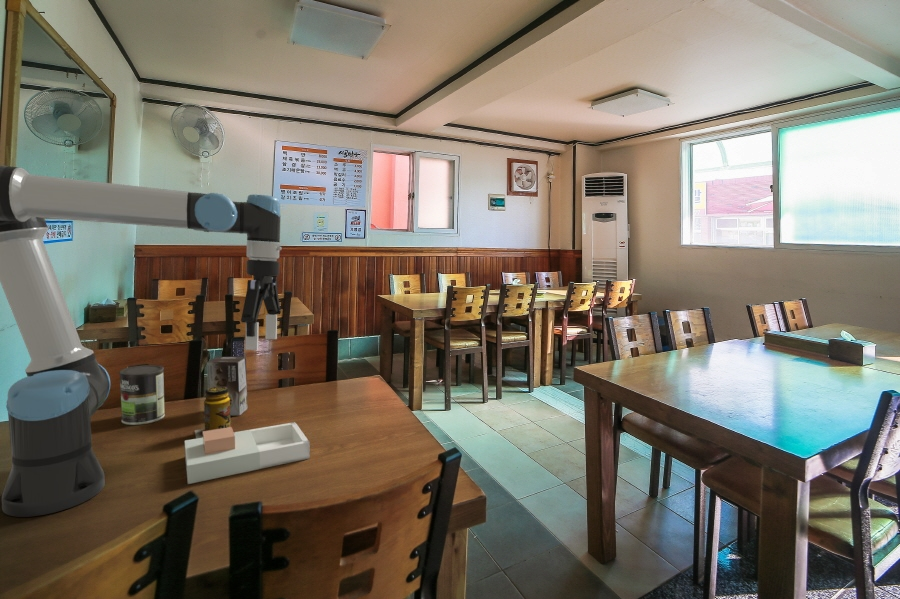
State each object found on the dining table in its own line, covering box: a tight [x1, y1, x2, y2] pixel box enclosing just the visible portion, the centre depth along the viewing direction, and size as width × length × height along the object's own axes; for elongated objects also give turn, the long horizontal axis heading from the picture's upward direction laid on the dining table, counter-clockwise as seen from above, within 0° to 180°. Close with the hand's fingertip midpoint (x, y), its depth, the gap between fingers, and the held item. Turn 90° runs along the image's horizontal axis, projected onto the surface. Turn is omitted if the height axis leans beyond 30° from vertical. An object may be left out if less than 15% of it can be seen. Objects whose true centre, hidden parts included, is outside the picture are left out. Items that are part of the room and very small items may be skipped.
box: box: [249, 421, 311, 470], centre depth 111 cm, size 11×14×4 cm
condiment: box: [194, 386, 231, 439], centre depth 120 cm, size 7×8×12 cm
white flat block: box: [184, 429, 261, 485], centre depth 104 cm, size 14×14×4 cm
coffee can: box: [118, 364, 166, 426], centre depth 128 cm, size 10×10×14 cm
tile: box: [203, 426, 235, 454], centre depth 104 cm, size 6×6×3 cm
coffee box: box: [206, 356, 248, 416], centre depth 135 cm, size 9×6×16 cm
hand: (261, 344), depth 115 cm, fingers open, 13 cm apart
